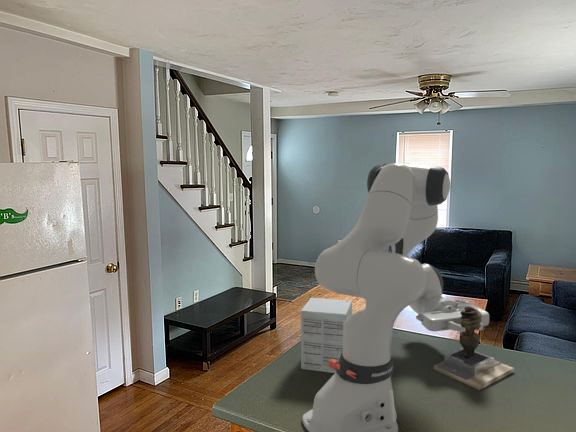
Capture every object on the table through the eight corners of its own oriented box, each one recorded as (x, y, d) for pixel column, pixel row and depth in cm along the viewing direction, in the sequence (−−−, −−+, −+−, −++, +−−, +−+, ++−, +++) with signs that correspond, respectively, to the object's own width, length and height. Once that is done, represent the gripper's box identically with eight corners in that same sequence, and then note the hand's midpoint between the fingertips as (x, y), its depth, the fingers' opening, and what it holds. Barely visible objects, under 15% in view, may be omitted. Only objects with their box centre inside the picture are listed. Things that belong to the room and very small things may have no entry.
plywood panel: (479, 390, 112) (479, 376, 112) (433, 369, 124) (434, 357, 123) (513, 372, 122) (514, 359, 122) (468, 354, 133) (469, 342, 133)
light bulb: (462, 352, 128) (464, 302, 126) (481, 357, 124) (484, 306, 122) (455, 358, 123) (458, 307, 122) (475, 364, 120) (478, 312, 118)
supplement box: (310, 350, 137) (310, 296, 135) (352, 355, 134) (352, 300, 132) (300, 369, 125) (299, 310, 123) (345, 375, 121) (346, 314, 119)
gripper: (413, 305, 132) (440, 321, 119) (471, 300, 137) (503, 314, 124) (412, 325, 133) (439, 343, 120) (470, 319, 138) (501, 335, 125)
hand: (472, 328), depth 122 cm, fingers closed on light bulb, 4 cm apart
